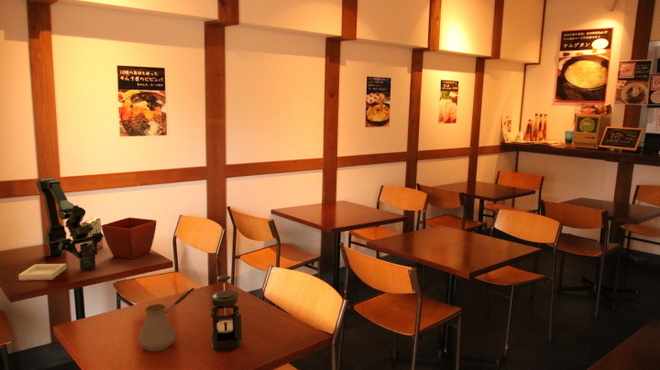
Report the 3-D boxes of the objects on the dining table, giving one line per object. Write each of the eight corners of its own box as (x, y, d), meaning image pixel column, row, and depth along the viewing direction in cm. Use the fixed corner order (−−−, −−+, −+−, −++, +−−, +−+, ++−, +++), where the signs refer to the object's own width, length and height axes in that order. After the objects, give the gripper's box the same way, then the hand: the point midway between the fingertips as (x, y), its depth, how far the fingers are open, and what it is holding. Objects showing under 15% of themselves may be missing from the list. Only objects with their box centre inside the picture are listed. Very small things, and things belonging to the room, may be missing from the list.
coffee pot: (152, 358, 149) (149, 312, 146) (131, 347, 155) (128, 302, 153) (208, 332, 166) (206, 290, 163) (186, 323, 172) (184, 283, 170)
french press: (203, 345, 157) (200, 277, 153) (225, 334, 164) (223, 269, 160) (229, 356, 150) (226, 285, 146) (250, 344, 157) (249, 276, 154)
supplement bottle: (99, 266, 231) (97, 242, 229) (90, 271, 224) (88, 246, 222) (85, 266, 232) (83, 242, 229) (76, 271, 225) (74, 246, 223)
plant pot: (102, 257, 245) (99, 225, 242) (131, 247, 262) (129, 216, 259) (131, 262, 237) (129, 229, 235) (159, 251, 255) (157, 220, 252)
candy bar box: (94, 247, 262) (91, 217, 259) (103, 247, 262) (100, 217, 259) (83, 253, 251) (80, 222, 248) (92, 253, 251) (90, 222, 248)
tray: (35, 269, 227) (34, 264, 226) (66, 268, 228) (66, 263, 228) (19, 280, 213) (18, 274, 213) (52, 279, 214) (51, 274, 214)
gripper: (58, 222, 219) (71, 251, 214) (100, 215, 233) (113, 242, 228) (53, 236, 225) (65, 264, 220) (93, 228, 240) (106, 254, 235)
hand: (88, 256), depth 226 cm, fingers open, 7 cm apart
